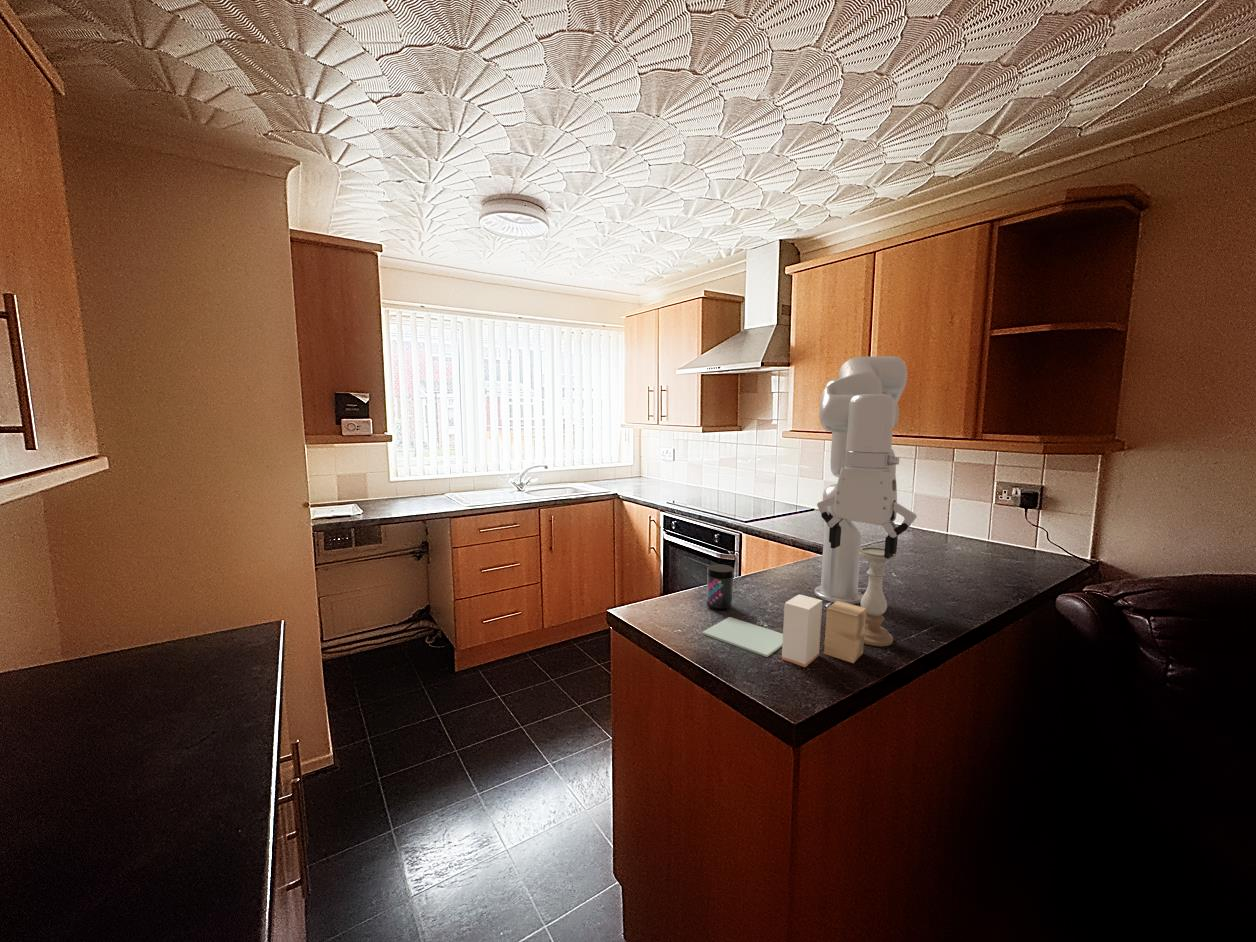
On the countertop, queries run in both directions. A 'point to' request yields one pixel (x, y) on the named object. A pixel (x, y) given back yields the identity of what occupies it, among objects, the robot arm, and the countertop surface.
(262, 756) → the countertop surface
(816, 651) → the cream block
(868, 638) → the candle holder
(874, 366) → the robot arm
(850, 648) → the oak block
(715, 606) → the supplement container
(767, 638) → the mat
